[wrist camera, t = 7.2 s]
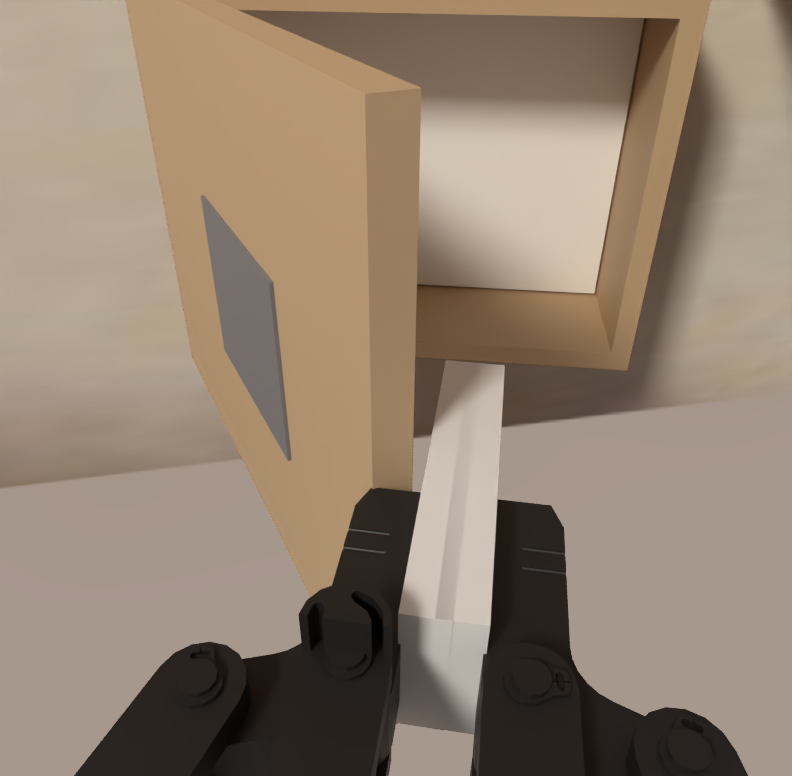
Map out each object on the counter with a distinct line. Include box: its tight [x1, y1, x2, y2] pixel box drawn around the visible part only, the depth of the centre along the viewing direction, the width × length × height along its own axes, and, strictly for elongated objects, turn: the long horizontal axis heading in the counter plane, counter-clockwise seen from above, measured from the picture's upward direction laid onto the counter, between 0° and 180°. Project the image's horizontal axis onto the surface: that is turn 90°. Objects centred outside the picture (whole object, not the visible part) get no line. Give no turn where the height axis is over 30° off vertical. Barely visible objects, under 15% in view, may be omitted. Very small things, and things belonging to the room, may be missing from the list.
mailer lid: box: [126, 0, 421, 724], centre depth 20 cm, size 19×15×1 cm
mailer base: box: [215, 0, 711, 371], centre depth 29 cm, size 18×14×6 cm
